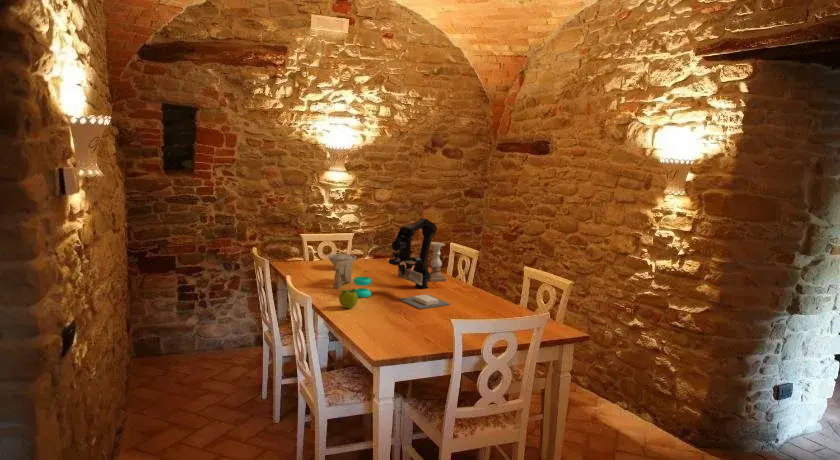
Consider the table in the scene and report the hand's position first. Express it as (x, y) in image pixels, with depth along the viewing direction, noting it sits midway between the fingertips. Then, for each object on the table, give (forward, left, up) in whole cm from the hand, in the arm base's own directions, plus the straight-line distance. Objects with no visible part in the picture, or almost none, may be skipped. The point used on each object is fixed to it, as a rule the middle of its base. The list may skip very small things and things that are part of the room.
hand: (404, 275), depth 302 cm
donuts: (+24, -6, -11) cm, 27 cm away
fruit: (+42, +12, -11) cm, 45 cm away
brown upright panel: (0, +6, -2) cm, 6 cm away
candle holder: (-39, -22, -11) cm, 46 cm away
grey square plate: (0, +20, -10) cm, 23 cm away
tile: (0, +16, -9) cm, 18 cm away
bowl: (+3, -72, -11) cm, 72 cm away
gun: (+22, -33, -11) cm, 41 cm away
